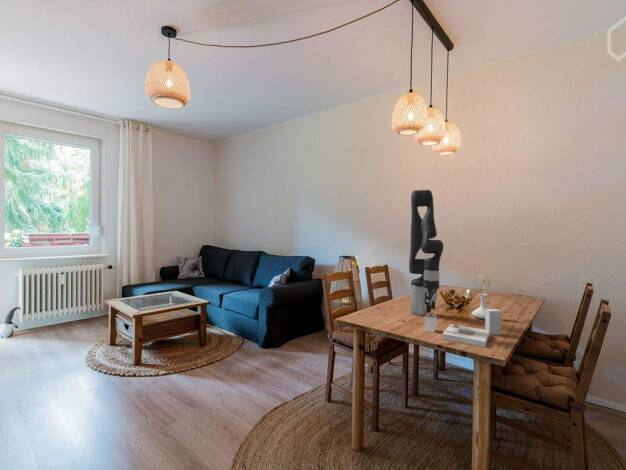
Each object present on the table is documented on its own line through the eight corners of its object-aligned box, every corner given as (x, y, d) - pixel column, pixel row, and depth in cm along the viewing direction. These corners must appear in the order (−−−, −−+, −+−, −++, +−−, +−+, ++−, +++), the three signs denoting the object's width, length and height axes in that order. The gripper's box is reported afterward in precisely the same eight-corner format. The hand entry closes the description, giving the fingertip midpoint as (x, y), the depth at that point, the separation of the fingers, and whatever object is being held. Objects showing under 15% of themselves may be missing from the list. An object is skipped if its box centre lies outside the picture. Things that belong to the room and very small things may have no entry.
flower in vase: (496, 321, 187) (498, 277, 186) (474, 319, 190) (476, 276, 189) (489, 314, 200) (490, 273, 199) (468, 313, 202) (470, 272, 201)
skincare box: (496, 332, 169) (496, 308, 168) (501, 335, 164) (502, 311, 164) (484, 332, 168) (485, 308, 168) (489, 335, 164) (489, 311, 164)
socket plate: (450, 329, 173) (450, 323, 172) (489, 335, 163) (489, 329, 163) (442, 339, 158) (442, 332, 157) (484, 347, 148) (485, 340, 148)
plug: (427, 328, 173) (427, 312, 173) (436, 330, 171) (436, 313, 171) (424, 330, 170) (425, 314, 169) (433, 332, 167) (434, 315, 167)
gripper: (427, 276, 177) (426, 306, 178) (420, 280, 165) (419, 312, 166) (442, 278, 173) (441, 309, 173) (435, 281, 161) (434, 314, 162)
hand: (430, 310), depth 170 cm, fingers open, 8 cm apart
